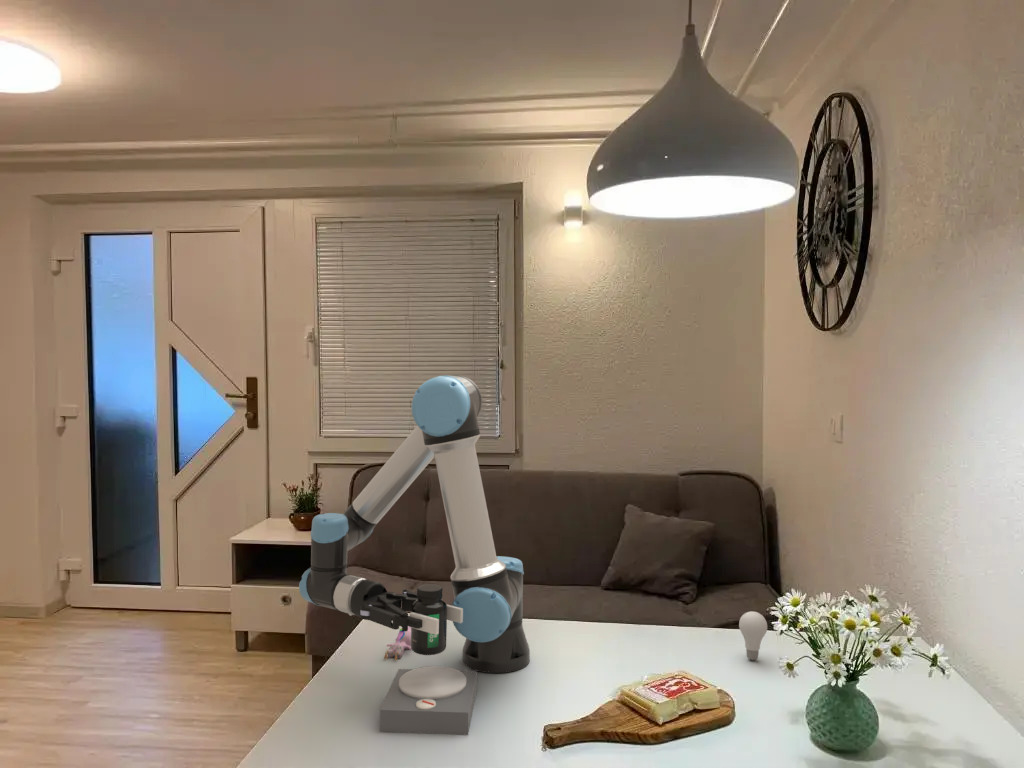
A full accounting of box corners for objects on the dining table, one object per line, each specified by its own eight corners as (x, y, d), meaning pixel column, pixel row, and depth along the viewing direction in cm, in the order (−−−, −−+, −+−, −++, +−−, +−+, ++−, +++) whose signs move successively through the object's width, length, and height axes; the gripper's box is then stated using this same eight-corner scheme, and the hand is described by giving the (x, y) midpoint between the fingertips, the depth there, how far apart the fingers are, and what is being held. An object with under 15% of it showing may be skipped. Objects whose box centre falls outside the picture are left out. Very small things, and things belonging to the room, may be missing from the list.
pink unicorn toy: (403, 668, 168) (430, 634, 182) (402, 644, 167) (428, 611, 181) (378, 665, 170) (406, 631, 184) (376, 640, 168) (404, 609, 182)
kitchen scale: (398, 688, 154) (398, 664, 154) (476, 690, 154) (476, 666, 154) (379, 731, 136) (379, 704, 136) (468, 734, 136) (468, 707, 136)
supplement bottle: (440, 657, 142) (442, 594, 142) (405, 654, 144) (407, 591, 143) (450, 644, 149) (451, 584, 149) (416, 640, 150) (418, 581, 150)
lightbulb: (750, 652, 176) (751, 606, 175) (772, 661, 171) (773, 613, 170) (732, 658, 172) (733, 610, 172) (754, 667, 167) (755, 618, 167)
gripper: (393, 603, 164) (479, 625, 152) (325, 629, 148) (415, 657, 135) (394, 568, 164) (480, 589, 152) (326, 591, 148) (416, 616, 135)
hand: (449, 621), depth 144 cm, fingers closed on supplement bottle, 7 cm apart
